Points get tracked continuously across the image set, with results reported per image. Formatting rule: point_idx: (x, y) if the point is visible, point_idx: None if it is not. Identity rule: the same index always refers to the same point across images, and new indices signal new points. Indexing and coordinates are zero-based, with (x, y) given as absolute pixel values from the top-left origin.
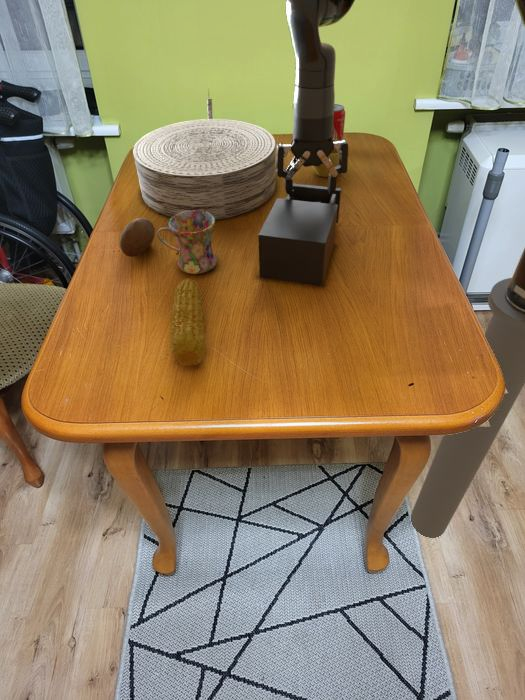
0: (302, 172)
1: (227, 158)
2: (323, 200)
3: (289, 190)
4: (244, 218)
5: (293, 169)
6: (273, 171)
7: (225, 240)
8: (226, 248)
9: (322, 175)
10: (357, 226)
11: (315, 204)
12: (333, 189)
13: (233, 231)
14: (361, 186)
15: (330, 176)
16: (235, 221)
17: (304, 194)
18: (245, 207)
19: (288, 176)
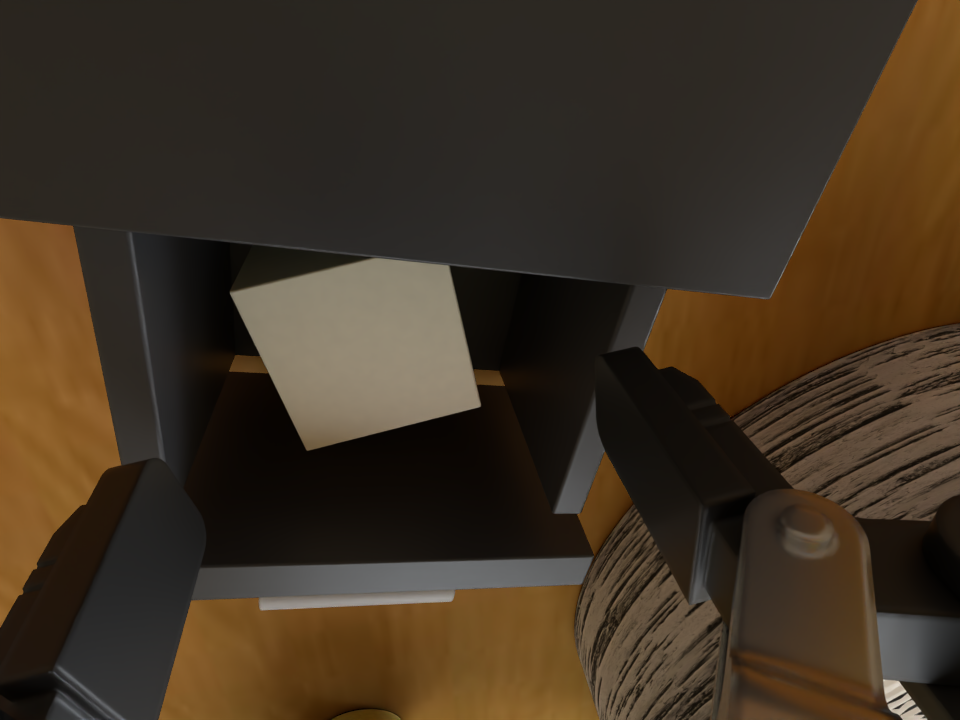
0: (460, 712)
1: None
2: (288, 481)
3: (670, 388)
4: (747, 369)
5: (836, 692)
6: (624, 683)
7: (904, 125)
8: (928, 17)
9: (372, 715)
10: (63, 380)
11: (283, 184)
12: (91, 520)
13: (832, 235)
14: (172, 694)
15: (75, 698)
16: (798, 336)
17: (450, 507)
18: (750, 435)
19: (830, 533)
